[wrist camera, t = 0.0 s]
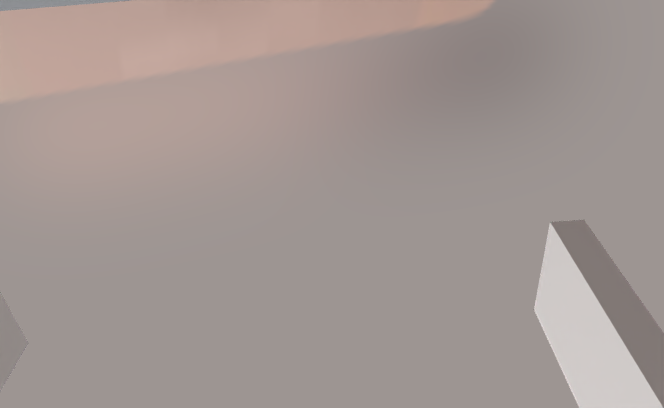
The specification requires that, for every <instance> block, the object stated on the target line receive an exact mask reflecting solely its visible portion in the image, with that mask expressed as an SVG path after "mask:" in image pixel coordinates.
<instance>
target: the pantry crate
mask: <svg viewBox="0 0 664 408" xmlns="http://www.w3.org/2000/svg"><path fill="white" fill-rule="evenodd" d="M117 1H129V0H0V11H5V10H17V9H30V8H42V7H55V6H67V5H79V4H92V3H104V2H117Z"/></svg>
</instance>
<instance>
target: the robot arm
mask: <svg viewBox="0 0 664 408" xmlns="http://www.w3.org/2000/svg"><path fill="white" fill-rule="evenodd" d="M534 311H535V313H536V315H537V317H538V319H539V321H540V324H541V326H542V328H543V330H544V332H545V334H546V337H547V339H548V341H549V343H550V345H551V348H552V350H553V352H554V354H555V356H556V358H557V361H558V363H559V365H560V367H561V369H562V372H563V374H564V376H565V378H566V380H567V382H568V384H569V387H570V389H571V391H572V393H573V395H574V398H575V400H576V402H577V404H578V406H579V408H664V333H663V332H662V330H661V328H660V327H659V326H658V324H657V323H656V321H655V320H654V319H653V317H652V316H651V314H650V313H649V311H648V310H647V309H646V307H645V306H644V304H643V303H642V301H641V300H640V299H639V297H638V296H637V294H636V293H635V291H634V290H633V289H632V287H631V286H630V284H629V283H628V281H627V280H626V279H625V277H624V276H623V275H622V273H621V272H620V270H619V269H618V267H617V266H616V264H615V263H614V262H613V260H612V259H611V257H610V256H609V254H608V253H607V252H606V250H605V249H604V247H603V246H602V244H601V243H600V242H599V240H598V239H597V237H596V236H595V234H594V233H593V232H592V230H591V229H590V227H589V226H588V225H587V224H586V222H585V220H573V221H559V222H550V226H549V231H548V237H547V242H546V248H545V253H544V259H543V264H542V269H541V275H540V281H539V286H538V291H537V296H536V302H535V307H534ZM27 345H28V341H27V339H26V337H25V336H24V334H23V332H22V330H21V328H20V327H19V325H18V323H17V321H16V319H15V317H14V316H13V314H12V312H11V310H10V308H9V307H8V305H7V303H6V301H5V299H4V297H3V296H2V294H1V292H0V391H1V389H2V388H3V386H4V384H5V382H6V381H7V379H8V377H9V376H10V374H11V372H12V370H13V369H14V367H15V365H16V363H17V362H18V360H19V358H20V356H21V355H22V353H23V351H24V350H25V348H26V346H27Z"/></svg>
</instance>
